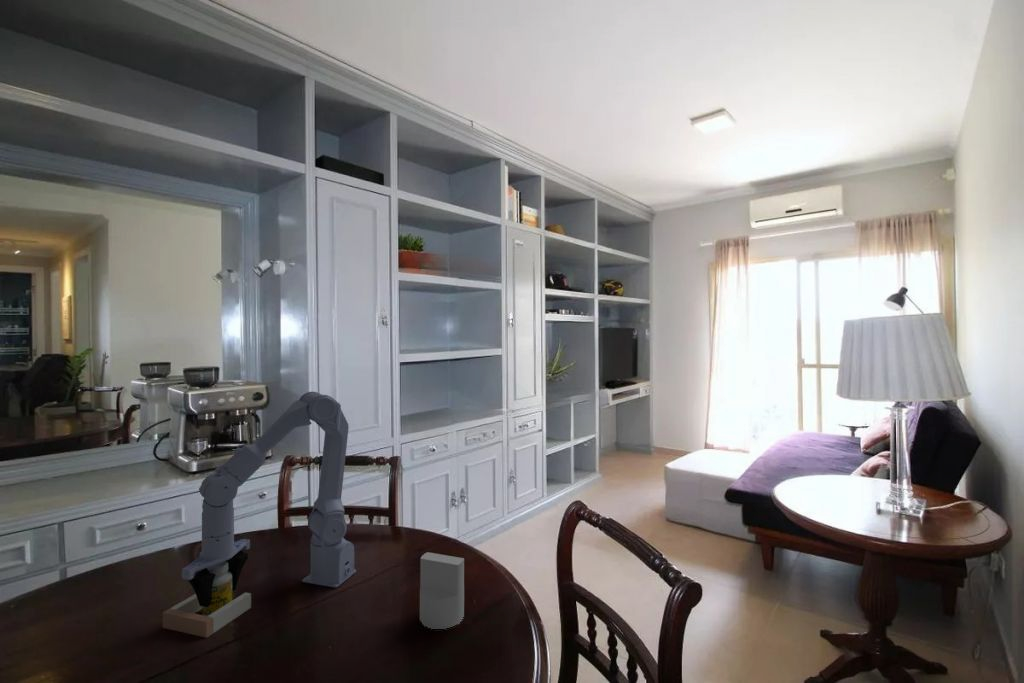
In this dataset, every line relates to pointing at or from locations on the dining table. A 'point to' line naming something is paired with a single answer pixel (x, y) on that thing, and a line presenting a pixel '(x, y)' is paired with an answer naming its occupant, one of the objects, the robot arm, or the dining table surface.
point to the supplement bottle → (219, 588)
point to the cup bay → (201, 625)
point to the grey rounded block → (441, 590)
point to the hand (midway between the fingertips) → (218, 597)
